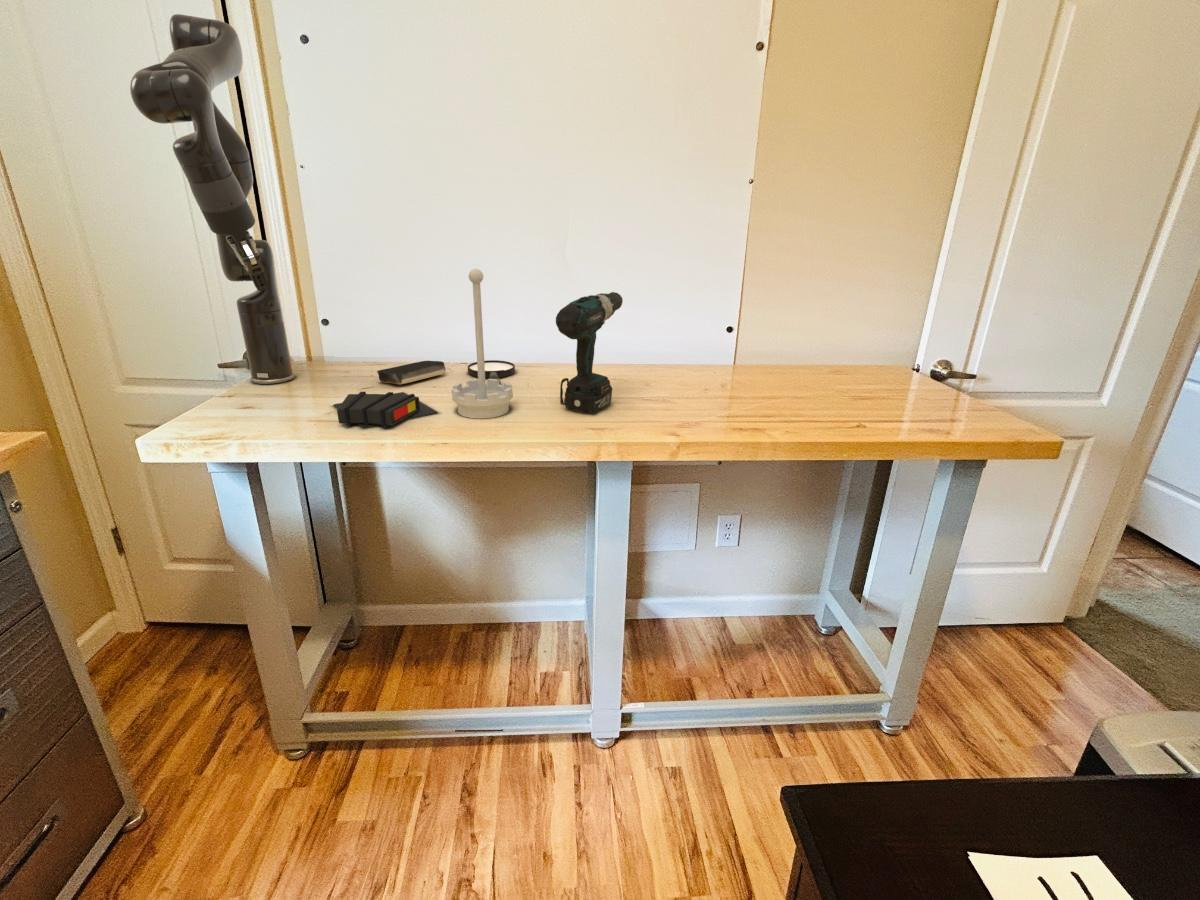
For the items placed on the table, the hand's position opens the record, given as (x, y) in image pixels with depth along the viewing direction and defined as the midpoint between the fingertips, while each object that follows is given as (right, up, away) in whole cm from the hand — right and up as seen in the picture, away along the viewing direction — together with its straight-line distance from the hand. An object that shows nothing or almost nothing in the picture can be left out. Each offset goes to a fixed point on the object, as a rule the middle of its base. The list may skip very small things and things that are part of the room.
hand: (262, 288), depth 118 cm
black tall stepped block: (+13, -24, +6) cm, 28 cm away
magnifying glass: (+38, -13, +39) cm, 56 cm away
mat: (+19, -23, +14) cm, 33 cm away
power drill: (+64, -21, +20) cm, 71 cm away
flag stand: (+40, -23, +15) cm, 49 cm away
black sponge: (+18, -14, +36) cm, 43 cm away
